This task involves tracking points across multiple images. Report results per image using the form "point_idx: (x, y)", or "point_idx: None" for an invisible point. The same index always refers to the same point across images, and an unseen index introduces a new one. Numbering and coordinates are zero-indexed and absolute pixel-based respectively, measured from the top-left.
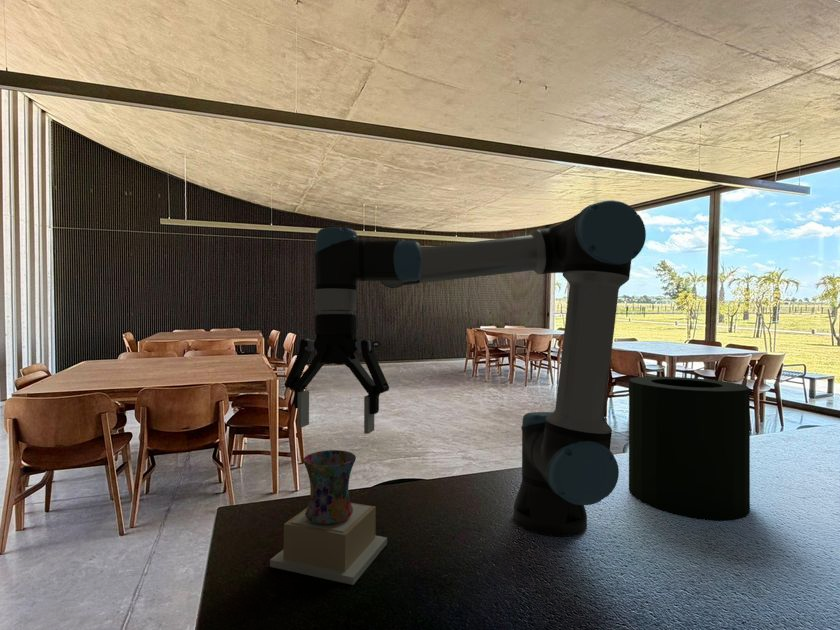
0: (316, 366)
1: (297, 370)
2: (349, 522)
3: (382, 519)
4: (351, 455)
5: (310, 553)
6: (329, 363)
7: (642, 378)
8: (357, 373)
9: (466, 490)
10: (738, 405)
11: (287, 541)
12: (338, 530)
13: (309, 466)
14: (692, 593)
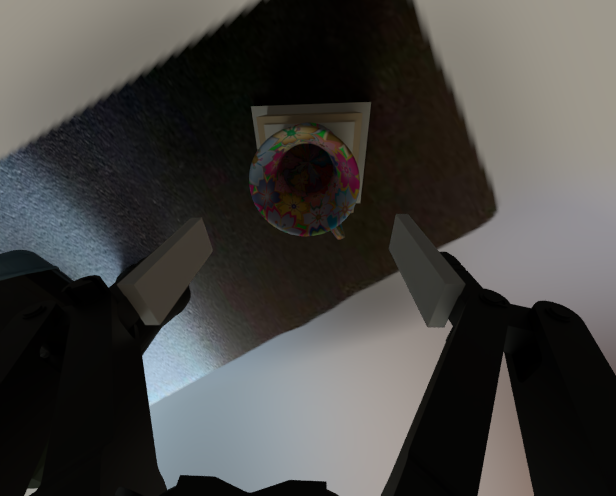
0: (409, 449)
1: (566, 408)
2: None
3: (298, 245)
4: (276, 221)
5: (314, 113)
6: (286, 487)
7: (33, 483)
8: (83, 391)
9: (251, 317)
10: None
11: (352, 112)
12: (272, 124)
13: (321, 128)
14: (4, 214)
